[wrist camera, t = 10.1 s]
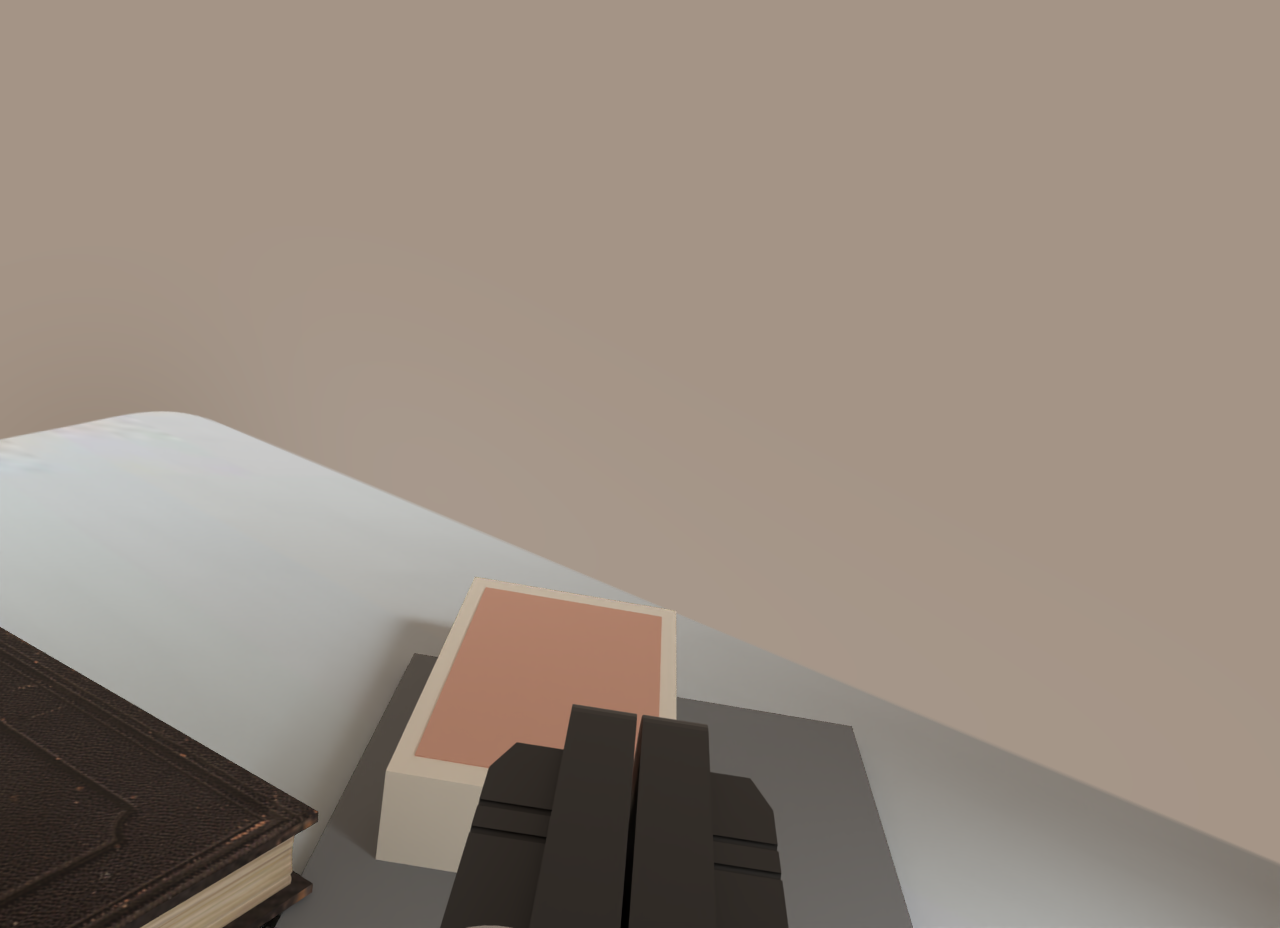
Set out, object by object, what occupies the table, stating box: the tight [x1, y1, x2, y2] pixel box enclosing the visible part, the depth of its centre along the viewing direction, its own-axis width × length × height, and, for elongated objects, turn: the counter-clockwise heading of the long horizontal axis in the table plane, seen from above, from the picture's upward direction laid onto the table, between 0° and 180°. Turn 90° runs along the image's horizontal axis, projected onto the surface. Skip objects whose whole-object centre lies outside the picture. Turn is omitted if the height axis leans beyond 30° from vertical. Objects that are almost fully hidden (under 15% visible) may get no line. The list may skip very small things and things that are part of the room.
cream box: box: [376, 577, 676, 873], centre depth 32 cm, size 7×3×12 cm
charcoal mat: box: [275, 653, 913, 928], centre depth 30 cm, size 15×15×1 cm
